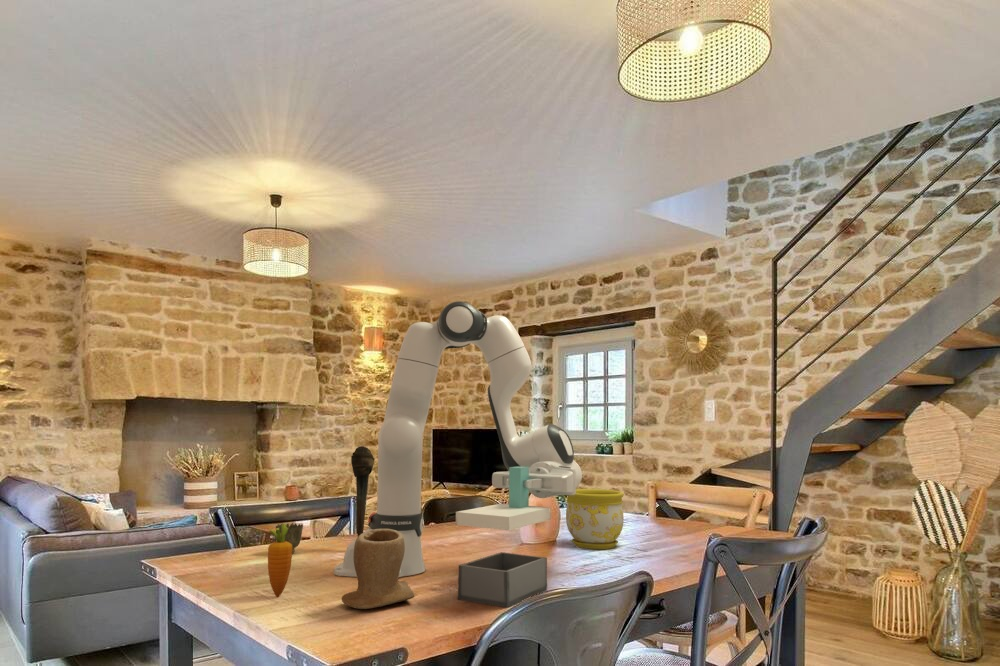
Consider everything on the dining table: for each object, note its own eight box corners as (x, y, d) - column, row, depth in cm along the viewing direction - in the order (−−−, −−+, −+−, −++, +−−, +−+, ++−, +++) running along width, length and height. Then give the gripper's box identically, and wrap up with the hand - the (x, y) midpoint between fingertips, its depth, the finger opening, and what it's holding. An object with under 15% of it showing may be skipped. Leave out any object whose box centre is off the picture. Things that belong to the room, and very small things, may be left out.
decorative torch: (374, 552, 193) (378, 446, 197) (351, 554, 190) (356, 446, 194) (366, 548, 199) (369, 445, 203) (343, 550, 195) (347, 446, 199)
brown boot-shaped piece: (363, 618, 128) (366, 537, 130) (334, 605, 137) (337, 529, 139) (428, 605, 138) (430, 529, 140) (397, 593, 147) (399, 523, 149)
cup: (296, 556, 186) (298, 526, 187) (270, 556, 186) (271, 526, 187) (304, 551, 193) (306, 523, 194) (279, 551, 193) (280, 522, 194)
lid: (508, 530, 138) (509, 472, 139) (455, 524, 144) (456, 469, 146) (550, 519, 154) (550, 467, 156) (500, 515, 161) (501, 465, 162)
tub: (507, 607, 137) (507, 572, 137) (458, 599, 143) (458, 565, 144) (546, 589, 152) (546, 557, 153) (501, 582, 158) (501, 552, 159)
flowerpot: (554, 546, 206) (555, 491, 208) (582, 538, 221) (582, 487, 223) (608, 553, 196) (607, 496, 198) (633, 544, 211) (633, 491, 213)
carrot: (276, 601, 139) (280, 526, 141) (260, 597, 142) (264, 524, 144) (295, 596, 144) (298, 524, 146) (279, 592, 146) (283, 522, 148)
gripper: (508, 464, 173) (479, 467, 161) (581, 468, 162) (556, 471, 150) (507, 490, 172) (478, 494, 160) (581, 495, 161) (556, 500, 150)
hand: (517, 483), depth 155 cm, fingers closed on lid, 3 cm apart
